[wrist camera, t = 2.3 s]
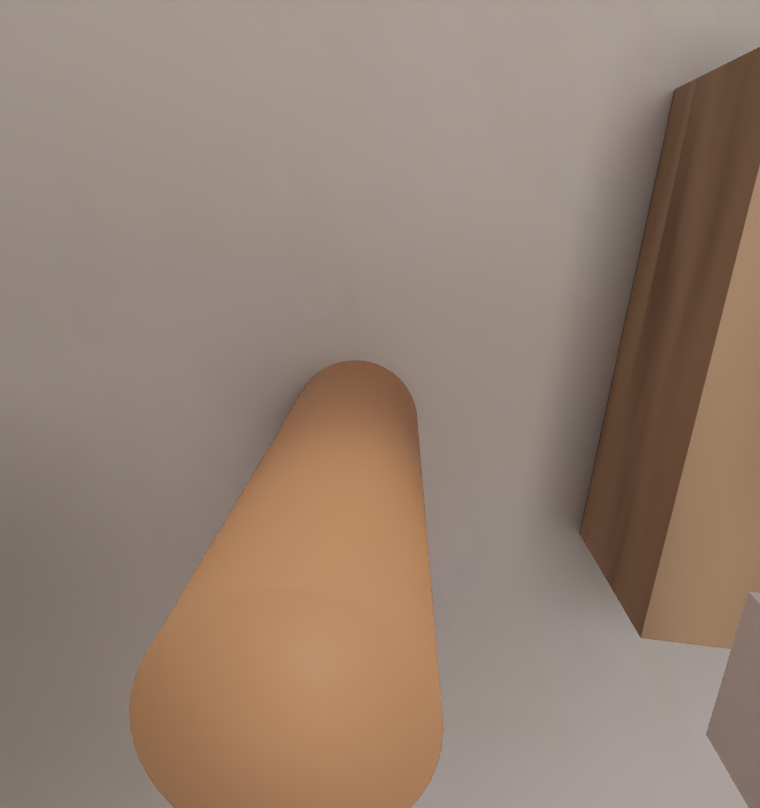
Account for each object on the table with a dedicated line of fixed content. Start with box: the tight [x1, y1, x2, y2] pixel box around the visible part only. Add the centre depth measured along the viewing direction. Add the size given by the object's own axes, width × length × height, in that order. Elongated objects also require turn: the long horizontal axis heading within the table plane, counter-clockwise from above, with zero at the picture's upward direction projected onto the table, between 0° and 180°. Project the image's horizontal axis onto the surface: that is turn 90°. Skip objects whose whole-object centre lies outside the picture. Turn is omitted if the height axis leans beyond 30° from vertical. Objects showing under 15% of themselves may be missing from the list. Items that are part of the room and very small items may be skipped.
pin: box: [130, 361, 443, 808], centre depth 15 cm, size 4×4×14 cm
